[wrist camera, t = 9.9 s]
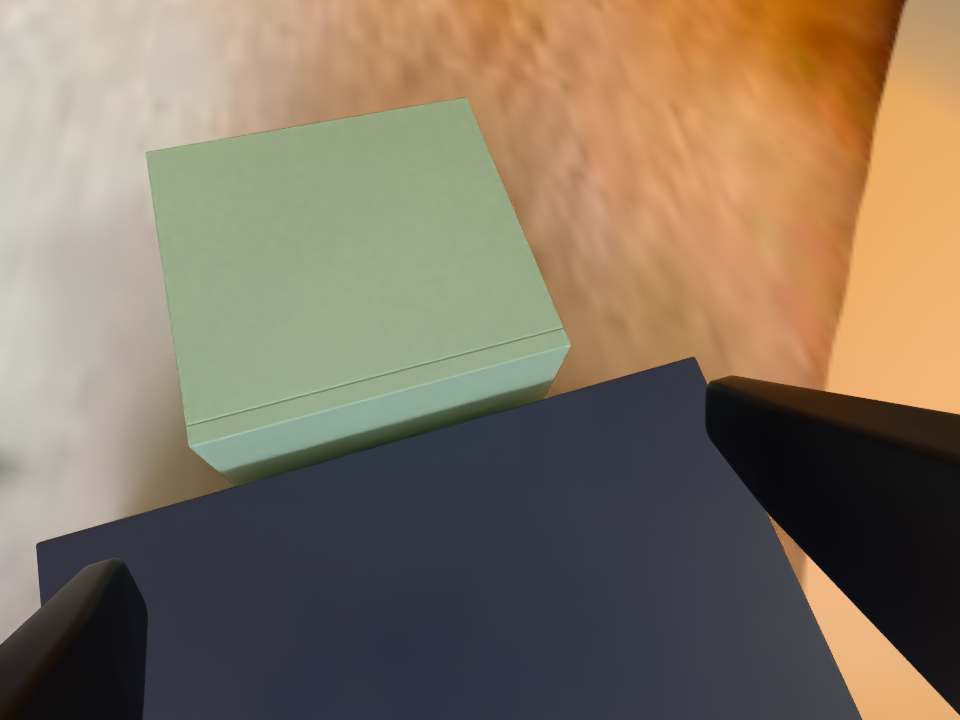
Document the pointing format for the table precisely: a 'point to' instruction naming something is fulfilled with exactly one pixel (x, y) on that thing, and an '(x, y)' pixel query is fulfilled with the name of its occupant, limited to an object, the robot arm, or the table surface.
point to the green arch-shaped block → (346, 287)
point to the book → (481, 578)
